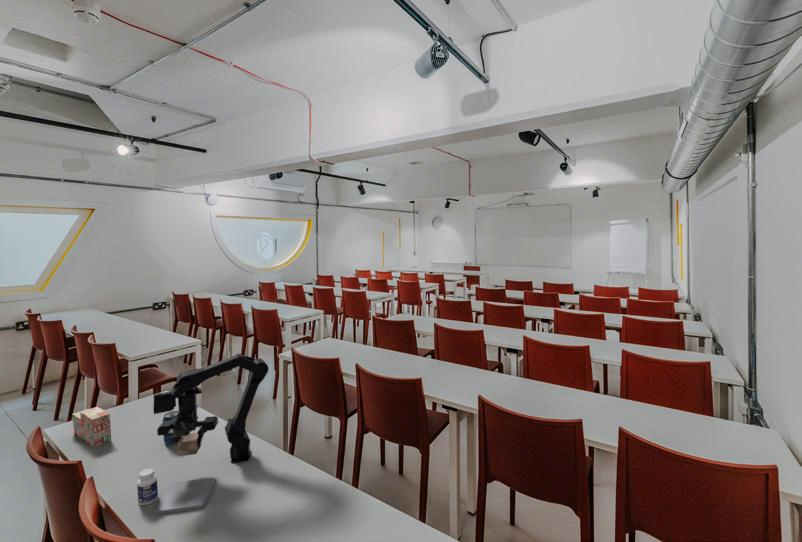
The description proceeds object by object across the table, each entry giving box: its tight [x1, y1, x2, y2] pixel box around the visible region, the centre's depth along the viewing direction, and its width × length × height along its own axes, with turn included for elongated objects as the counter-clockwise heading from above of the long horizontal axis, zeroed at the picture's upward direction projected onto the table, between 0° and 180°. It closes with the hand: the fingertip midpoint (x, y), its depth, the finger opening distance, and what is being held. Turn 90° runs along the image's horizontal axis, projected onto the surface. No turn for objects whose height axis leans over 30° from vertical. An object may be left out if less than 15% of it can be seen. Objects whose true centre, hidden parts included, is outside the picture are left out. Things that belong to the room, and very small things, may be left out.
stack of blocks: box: [71, 406, 112, 448], centre depth 162 cm, size 21×6×12 cm, turn 59°
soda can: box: [162, 410, 182, 445], centre depth 158 cm, size 7×7×12 cm
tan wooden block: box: [176, 432, 202, 457], centre depth 136 cm, size 6×6×5 cm
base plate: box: [153, 477, 217, 516], centre depth 124 cm, size 14×14×1 cm
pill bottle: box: [136, 468, 159, 506], centre depth 122 cm, size 5×5×10 cm
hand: (189, 447), depth 136 cm, fingers closed on tan wooden block, 6 cm apart
